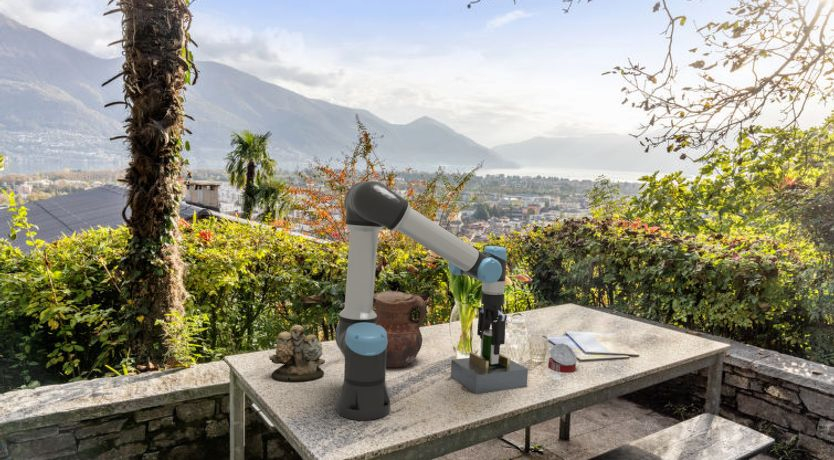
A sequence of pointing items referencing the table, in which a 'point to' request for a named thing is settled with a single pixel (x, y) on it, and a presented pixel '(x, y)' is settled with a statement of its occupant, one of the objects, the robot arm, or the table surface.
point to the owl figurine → (297, 356)
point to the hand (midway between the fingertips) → (489, 360)
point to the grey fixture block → (488, 374)
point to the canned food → (562, 359)
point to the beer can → (487, 346)
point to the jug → (400, 325)
